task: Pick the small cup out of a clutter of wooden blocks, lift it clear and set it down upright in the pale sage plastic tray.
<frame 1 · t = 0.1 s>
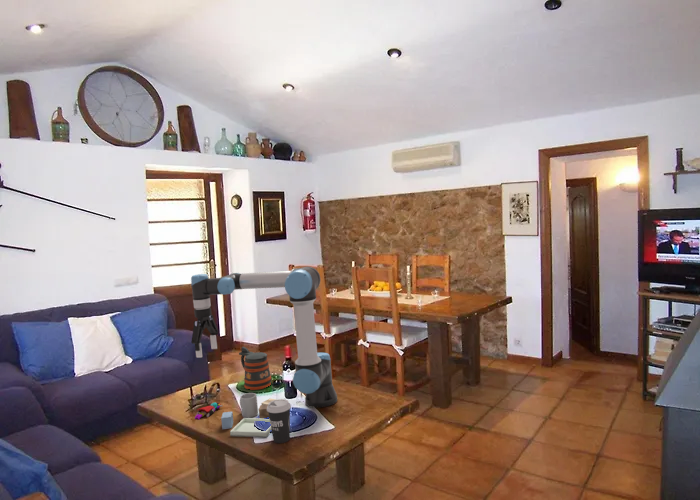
hand: (207, 353, 231), 28 cm above the table, fingers open, 13 cm apart
blue painted block: (228, 425, 215), on the table
beech block: (269, 409, 230), on the table
cup: (248, 414, 226), on the table
toy: (208, 413, 231), on the table
beer stein: (255, 385, 265), on the table
tray: (255, 429, 209), on the table
walnut block: (266, 417, 221), on the table
coffee cup: (281, 440, 198), on the table
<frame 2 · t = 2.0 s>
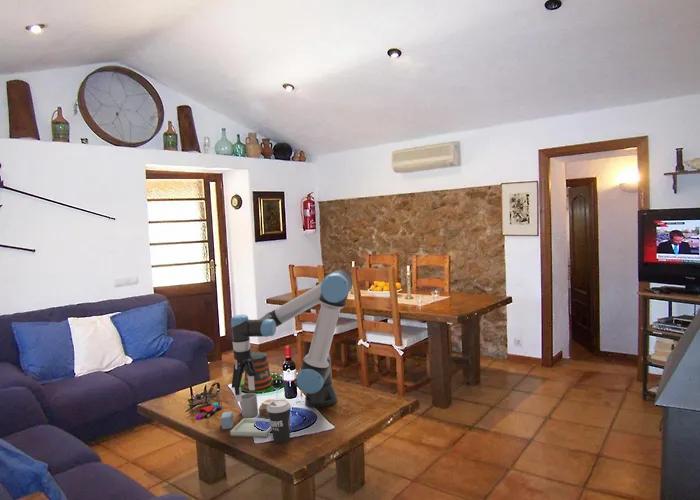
hand: (245, 395, 225), 9 cm above the table, fingers open, 13 cm apart
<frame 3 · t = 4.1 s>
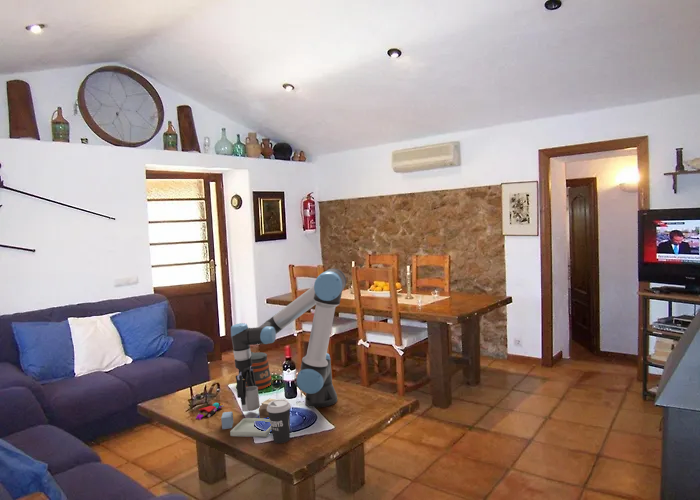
hand: (249, 407, 226), 3 cm above the table, fingers closed on cup, 7 cm apart
cup: (249, 408, 226), point 3 cm above the table, touching gripper
everything else where it was.
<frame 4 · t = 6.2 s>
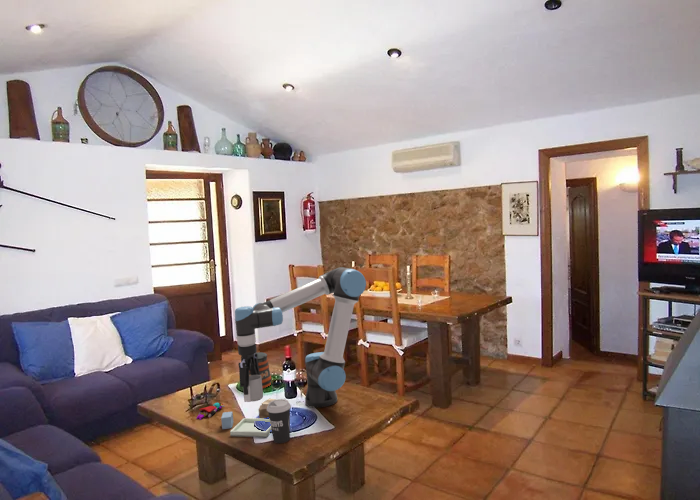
hand: (251, 397, 208), 14 cm above the table, fingers closed on cup, 7 cm apart
cup: (252, 398, 209), point 13 cm above the table, touching gripper
when the fingers open (2 cm above the table, at t = 8.6 s): cup stays where it is, resting on tray.
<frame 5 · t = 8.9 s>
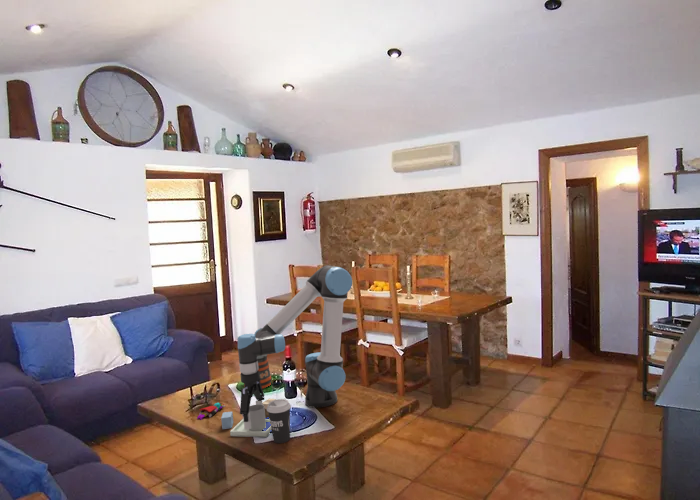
hand: (254, 421, 209), 3 cm above the table, fingers open, 12 cm apart
cup: (255, 428, 210), resting on tray
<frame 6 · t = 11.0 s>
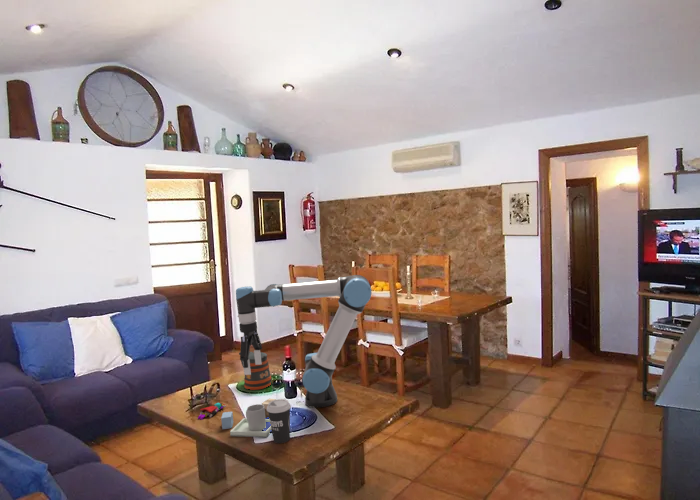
hand: (253, 369, 220), 22 cm above the table, fingers open, 13 cm apart
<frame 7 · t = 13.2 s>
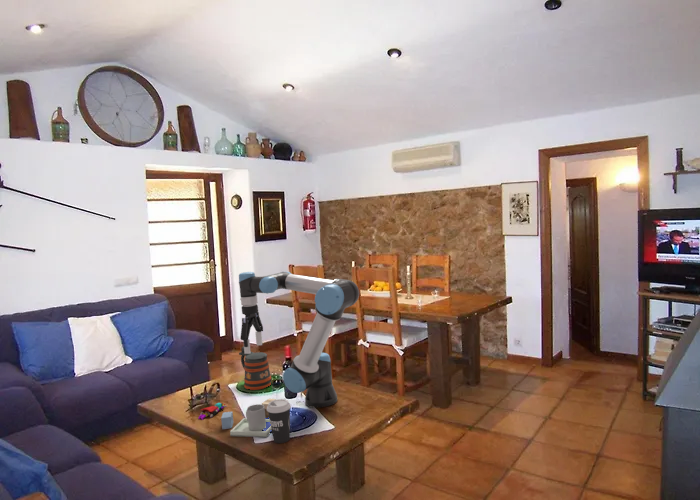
hand: (253, 349, 236), 27 cm above the table, fingers open, 13 cm apart
at the end: cup inside the target area on the tray (0.5 cm from its centre), point 0.4 cm above the tray's base; cup tilted 0°; the gripper is holding nothing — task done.
